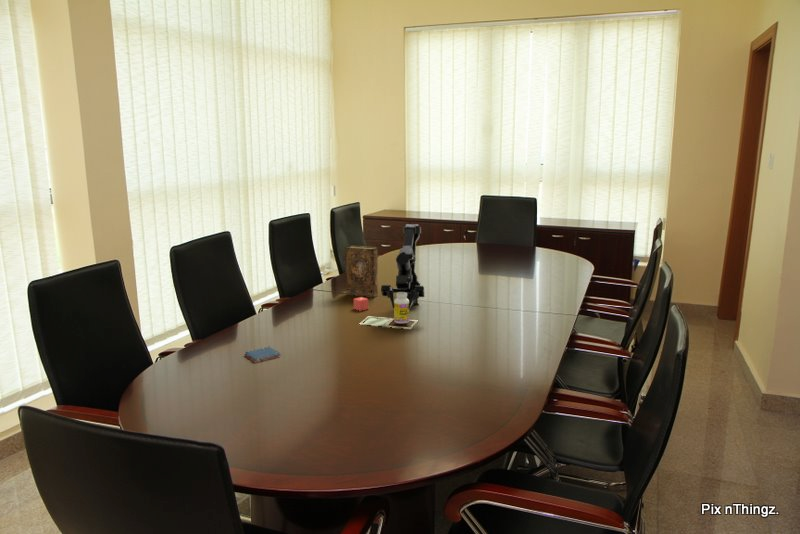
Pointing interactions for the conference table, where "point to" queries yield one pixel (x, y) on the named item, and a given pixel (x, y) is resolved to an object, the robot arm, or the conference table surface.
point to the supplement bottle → (401, 308)
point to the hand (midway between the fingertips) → (401, 308)
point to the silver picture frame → (383, 322)
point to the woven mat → (262, 354)
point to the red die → (361, 303)
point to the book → (361, 271)
